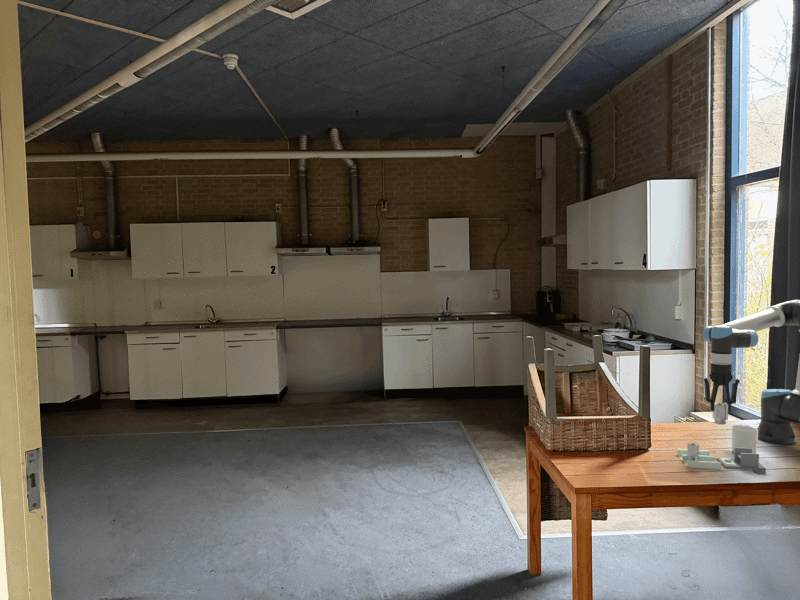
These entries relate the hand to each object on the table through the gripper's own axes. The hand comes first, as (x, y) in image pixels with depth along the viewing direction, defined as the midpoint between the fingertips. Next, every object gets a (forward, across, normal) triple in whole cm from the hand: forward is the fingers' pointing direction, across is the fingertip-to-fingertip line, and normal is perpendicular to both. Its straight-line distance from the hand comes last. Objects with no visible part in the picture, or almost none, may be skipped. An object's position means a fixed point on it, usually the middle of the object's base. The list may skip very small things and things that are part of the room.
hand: (720, 418), depth 225 cm
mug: (+17, -13, -9) cm, 23 cm away
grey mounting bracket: (+17, -4, +10) cm, 20 cm away
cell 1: (+15, +14, +13) cm, 24 cm away
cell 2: (+2, 0, 0) cm, 2 cm away
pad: (+13, -6, +10) cm, 17 cm away
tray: (+17, +11, +10) cm, 22 cm away
